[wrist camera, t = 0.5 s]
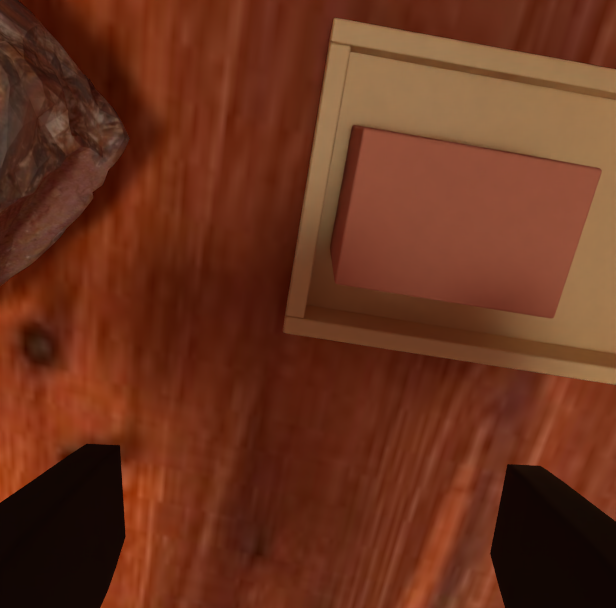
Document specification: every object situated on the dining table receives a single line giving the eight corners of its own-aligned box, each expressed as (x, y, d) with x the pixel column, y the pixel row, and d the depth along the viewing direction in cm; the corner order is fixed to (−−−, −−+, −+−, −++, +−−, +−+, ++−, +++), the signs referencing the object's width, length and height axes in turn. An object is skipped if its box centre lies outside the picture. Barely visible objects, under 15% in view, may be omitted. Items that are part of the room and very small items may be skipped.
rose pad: (505, 278, 19) (554, 320, 15) (329, 249, 18) (333, 284, 15) (540, 157, 17) (604, 169, 14) (352, 124, 17) (363, 126, 13)
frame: (695, 377, 20) (735, 404, 18) (285, 312, 20) (282, 333, 18) (809, 115, 17) (869, 115, 16) (331, 28, 17) (333, 16, 15)
